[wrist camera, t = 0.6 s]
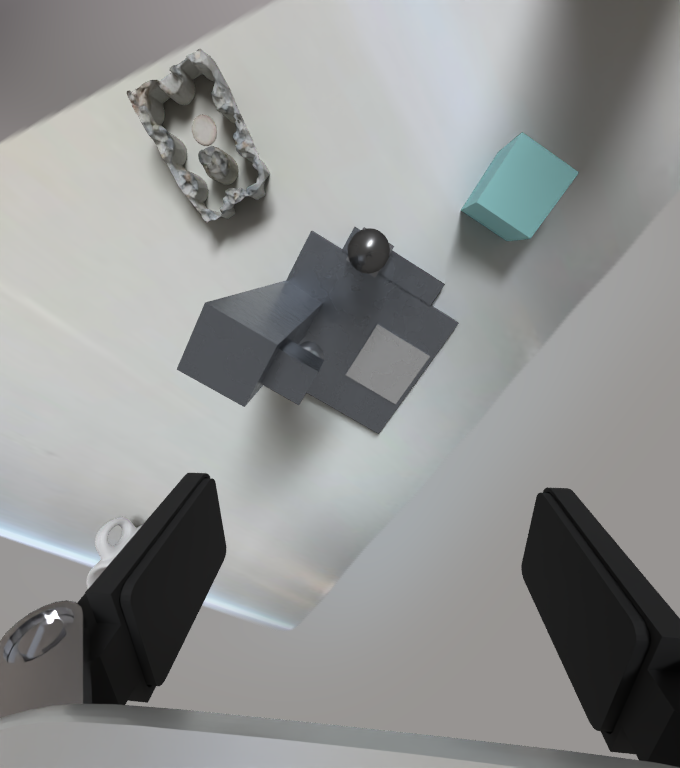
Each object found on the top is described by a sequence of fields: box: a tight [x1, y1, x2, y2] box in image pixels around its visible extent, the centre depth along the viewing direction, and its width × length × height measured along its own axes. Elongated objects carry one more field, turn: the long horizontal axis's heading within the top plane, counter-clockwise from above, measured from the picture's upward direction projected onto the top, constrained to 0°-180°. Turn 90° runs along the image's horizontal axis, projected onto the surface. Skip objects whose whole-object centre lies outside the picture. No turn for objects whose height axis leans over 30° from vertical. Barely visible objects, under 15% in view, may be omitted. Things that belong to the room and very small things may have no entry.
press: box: [177, 227, 459, 434], centre depth 26 cm, size 16×16×18 cm
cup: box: [87, 517, 142, 589], centre depth 43 cm, size 11×8×8 cm
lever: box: [346, 227, 394, 278], centre depth 26 cm, size 3×3×10 cm
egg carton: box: [127, 49, 270, 223], centre depth 29 cm, size 11×8×4 cm
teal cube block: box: [461, 132, 579, 241], centre depth 28 cm, size 5×5×5 cm
